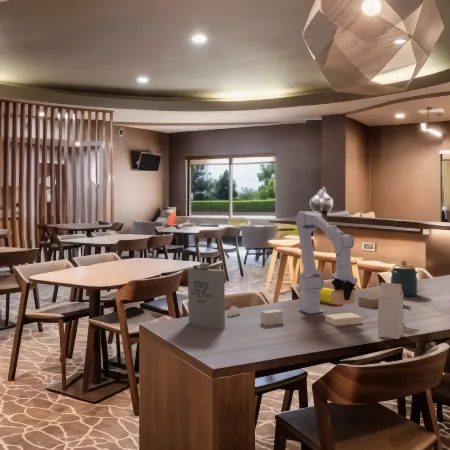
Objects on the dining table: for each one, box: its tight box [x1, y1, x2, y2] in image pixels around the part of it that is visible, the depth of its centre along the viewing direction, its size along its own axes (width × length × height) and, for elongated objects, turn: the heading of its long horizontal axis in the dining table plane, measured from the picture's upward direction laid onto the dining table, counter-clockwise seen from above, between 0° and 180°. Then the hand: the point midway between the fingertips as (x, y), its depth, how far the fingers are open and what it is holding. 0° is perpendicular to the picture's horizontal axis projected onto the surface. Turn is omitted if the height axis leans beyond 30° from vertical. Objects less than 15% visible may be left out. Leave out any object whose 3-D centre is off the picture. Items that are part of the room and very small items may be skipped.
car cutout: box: [226, 305, 241, 318], centre depth 212 cm, size 15×7×4 cm, turn 124°
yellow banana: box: [320, 287, 334, 306], centre depth 240 cm, size 18×7×8 cm
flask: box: [187, 262, 226, 330], centre depth 197 cm, size 17×5×25 cm, turn 52°
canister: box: [390, 260, 418, 298], centre depth 255 cm, size 13×13×18 cm
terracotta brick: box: [332, 289, 355, 306], centre depth 200 cm, size 4×8×5 cm, turn 115°
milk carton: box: [377, 282, 404, 340], centre depth 179 cm, size 7×7×19 cm
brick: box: [357, 291, 379, 309], centre depth 234 cm, size 17×8×5 cm, turn 128°
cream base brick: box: [324, 312, 363, 327], centre depth 200 cm, size 8×12×3 cm, turn 106°
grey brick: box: [260, 308, 284, 327], centre depth 200 cm, size 4×8×5 cm, turn 115°
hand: (343, 298), depth 200 cm, fingers closed on terracotta brick, 4 cm apart
